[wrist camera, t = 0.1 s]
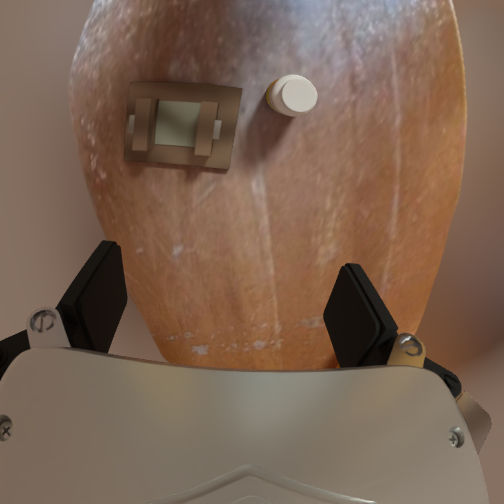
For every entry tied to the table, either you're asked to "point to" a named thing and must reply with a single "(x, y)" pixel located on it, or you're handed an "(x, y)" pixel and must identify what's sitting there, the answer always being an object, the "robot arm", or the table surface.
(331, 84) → the table surface
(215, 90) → the holder
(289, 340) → the table surface
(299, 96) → the supplement bottle
